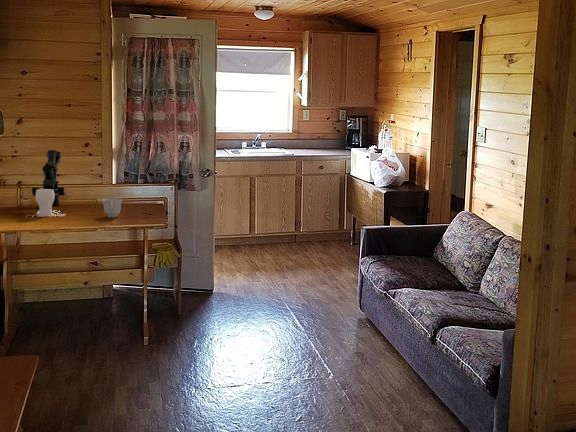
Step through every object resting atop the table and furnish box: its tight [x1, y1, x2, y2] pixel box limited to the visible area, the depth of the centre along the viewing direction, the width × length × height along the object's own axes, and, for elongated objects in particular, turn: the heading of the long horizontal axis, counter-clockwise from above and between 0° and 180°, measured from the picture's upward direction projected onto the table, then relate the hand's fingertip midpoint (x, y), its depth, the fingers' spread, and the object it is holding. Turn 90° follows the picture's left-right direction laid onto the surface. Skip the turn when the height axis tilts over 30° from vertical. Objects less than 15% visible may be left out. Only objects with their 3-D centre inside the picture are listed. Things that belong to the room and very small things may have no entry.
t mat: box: [25, 209, 67, 218], centre depth 427 cm, size 21×22×1 cm
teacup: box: [101, 197, 123, 218], centre depth 419 cm, size 12×15×10 cm
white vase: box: [35, 188, 55, 216], centre depth 419 cm, size 11×11×15 cm
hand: (47, 202), depth 429 cm, fingers closed
